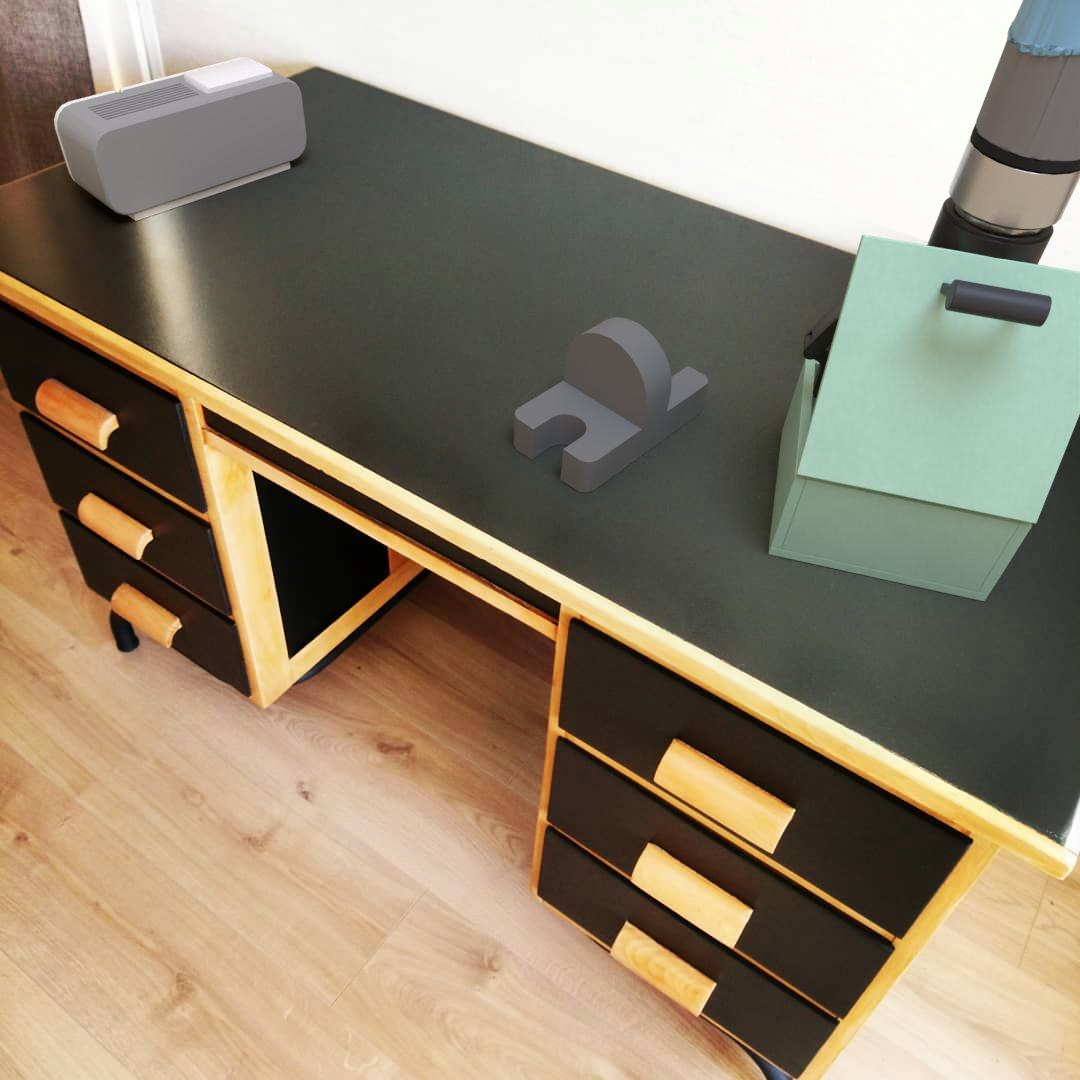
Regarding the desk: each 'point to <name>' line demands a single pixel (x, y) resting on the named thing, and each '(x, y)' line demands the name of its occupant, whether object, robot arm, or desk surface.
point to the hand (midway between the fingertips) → (898, 442)
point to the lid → (949, 379)
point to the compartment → (882, 524)
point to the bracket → (609, 404)
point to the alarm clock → (182, 136)
